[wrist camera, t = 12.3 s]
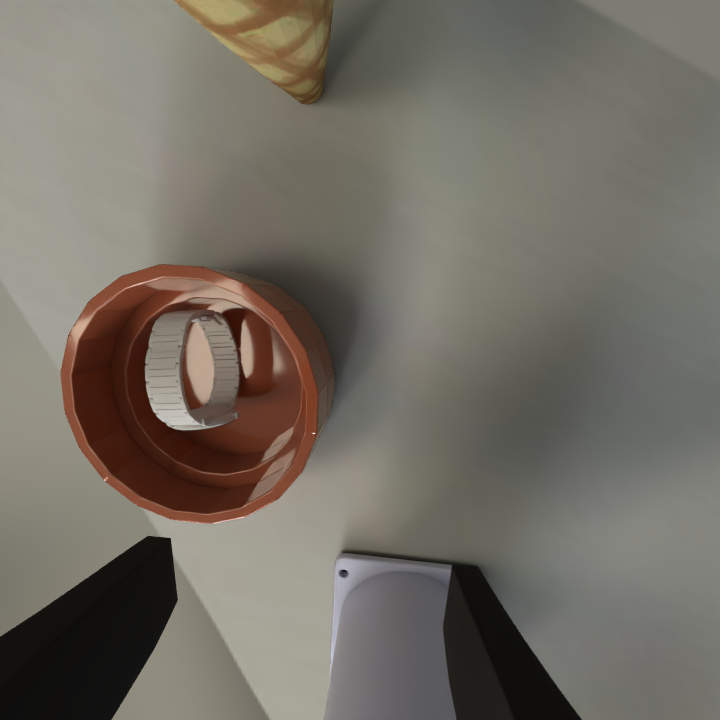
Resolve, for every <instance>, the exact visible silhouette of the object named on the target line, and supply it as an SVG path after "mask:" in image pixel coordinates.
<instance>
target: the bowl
mask: <svg viewBox="0 0 720 720" xmlns="http://www.w3.org/2000/svg"><path fill="white" fill-rule="evenodd" d="M190 310H213V311H215V312H219V313H221V314H222V315H223V316H224V317H225V318H226V319H227V321H228V322H229V326H230V327H231V329H232V332H233V335H234V337H233V338H235V340H236V344H237V350H238V352H239V358H240V362H237V363H240V366H241V375H238V376H240V377H241V379H240V387H239V388H238V389H239V393H238V397H237V400H235V401H236V403H237V408H236V411H237V412H239V414H240V416H239V418H236V419H235V420H234V421H233V422H231V423H229V424H226V425H223V426H219V427H215V428H211V429H204V430H196V431H180V430H176V429H174V428H172V427H169V426H167V424H166V423H165V422H162V421H161V420H160V419H159V418H158V417H157V416H156V413H154V412H153V409H152V407H151V405H150V401H149V399H151V398H149V397H148V394H147V389H146V383H147V382H146V380H145V366H146V365H149V364H145V359H146V355H147V351H148V349H149V339H150V335H151V333H152V332H153V331H152V328H153V326H154V324H155V322H156V320H157V319H159V317H160V316H161V315H163V314H165V313H170V312H176V311H190ZM186 332H187V337H186V343H185V346H183V347H184V348H185V350H184V356H183V362H182V363H180V364H182V369H183V380H180V381H183V385H184V390H185V396H184V397H186V399H187V402H188V405H189V408H190V410H192V409H197V408H200V407H202V406H203V405H204V404H205V403H208V401H210V400H209V398H210V394H211V391H212V389H213V388H212V387H213V380H214V377H217V376H214V364H216V363H213V359H212V354H211V352H212V351H211V350H210V347H209V344H208V339H206V337H205V334H204V332H203V328H201V326H200V325H199V324H198V322H191V324H190V326H189V328H188V331H186ZM219 368H220V367H219ZM218 373H220V372H218ZM173 376H174V375H173ZM334 380H335V372H334V367H333V363H332V360H331V356H330V352H329V349H328V345H327V342H326V340H325V337H324V335H323V334H322V332H321V330H320V329H319V327H318V326H317V324H316V323H315V321H314V320H313V318H312V317H311V315H310V314H309V312H308V310H306V308H305V307H303V306H302V305H301V304H300V303H299V302H297V301H296V300H295V299H294V298H292V297H291V296H290V295H289V294H288V293H286V292H285V291H284V290H283V289H282V288H280V287H278V286H276V285H274V284H271V283H269V282H266V281H264V280H261V279H259V278H256V277H253V276H251V275H248V274H244V273H238V272H232V271H226V270H220V269H214V268H209V267H203V266H185V265H166V264H161V265H156V266H153V267H149V268H146V269H143V270H139V271H136V272H133V273H130V274H126V275H123V276H121V277H119V278H118V279H117V280H115V281H114V282H113V283H111V284H110V285H109V286H108V287H106V288H105V289H104V290H102V291H101V292H100V293H99V294H97V295H96V296H95V297H93V298H92V299H91V300H90V301H89V302H88V303H87V305H86V307H85V308H84V310H83V311H82V313H81V315H80V316H79V318H78V320H77V321H76V323H75V325H74V326H73V328H72V329H71V331H70V333H69V335H68V339H67V344H66V349H65V353H64V358H63V363H62V368H61V383H62V392H63V401H64V411H65V414H66V417H67V419H68V422H69V424H70V426H71V429H72V431H73V434H74V436H75V439H76V441H77V444H78V446H79V448H80V449H81V451H82V452H83V454H84V455H85V456H86V458H87V459H88V460H89V461H90V463H91V464H92V465H93V467H94V468H95V469H96V470H97V472H98V473H99V474H100V476H101V477H102V478H103V479H104V480H105V481H106V483H108V484H109V485H110V486H112V487H113V488H114V489H116V490H117V491H118V492H120V493H121V494H122V495H124V496H125V497H126V498H127V499H129V500H130V501H131V502H133V503H134V504H137V506H139V507H142V508H144V509H147V510H149V511H152V512H154V513H156V514H159V515H161V516H164V517H166V518H169V519H173V520H177V521H186V522H195V523H204V524H213V523H218V522H224V521H229V520H234V519H239V518H244V517H247V516H249V515H251V514H253V513H255V512H256V511H258V510H260V509H262V508H263V507H265V506H267V505H269V504H271V503H272V502H274V501H276V500H278V498H280V497H281V496H282V495H283V493H284V492H285V491H286V490H287V489H288V488H289V487H290V485H291V484H292V483H293V482H294V481H295V480H296V478H297V477H298V476H299V475H300V474H301V473H302V472H303V470H304V468H305V466H306V464H307V462H308V460H309V458H310V456H311V454H312V452H313V450H314V448H315V446H316V444H317V442H318V440H319V438H320V436H321V434H322V432H323V430H324V427H325V425H326V422H327V419H328V417H329V414H330V412H331V409H332V407H333V402H334Z"/></svg>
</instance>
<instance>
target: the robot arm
mask: <svg viewBox="0 0 720 720" xmlns="http://www.w3.org/2000/svg"><path fill="white" fill-rule="evenodd" d="M343 569H344V570H347V572H343V571H341V570H343ZM177 600H178V598H177V591H176V581H175V572H174V563H173V554H172V545H171V538H164V537H153V536H147V537H146V538H144V539H143V540H141V541H140V542H138V543H137V544H135V545H134V546H132V547H131V548H129V549H128V550H126V551H125V552H124V553H122V554H121V555H119V556H118V557H116V558H115V559H114V560H112V561H111V562H109V563H108V564H107V565H105V566H104V567H102V568H101V569H99V570H98V571H97V572H96V573H94V574H92V575H91V576H90V577H88V578H87V579H85V580H84V581H82V582H81V583H79V584H78V585H77V586H75V587H74V588H72V589H71V590H69V591H68V592H66V593H65V594H64V595H62V596H61V597H59V598H58V599H56V600H55V601H53V602H52V603H51V604H49V605H48V606H46V607H45V608H43V609H42V610H41V611H39V612H38V613H36V614H34V615H33V616H31V617H30V618H28V619H27V620H25V621H24V622H22V623H21V624H19V625H17V626H16V627H15V628H13V629H11V630H10V631H8V632H7V633H5V634H4V635H2V636H1V637H0V720H111V719H112V718H113V716H114V715H115V713H116V711H117V710H118V708H119V707H120V705H121V703H122V702H123V700H124V698H125V697H126V695H127V693H128V692H129V690H130V688H131V687H132V685H133V683H134V682H135V680H136V678H137V677H138V675H139V674H140V672H141V670H142V669H143V667H144V665H145V664H146V662H147V660H148V658H149V657H150V655H151V653H152V652H153V650H154V648H155V646H156V644H157V642H158V640H159V638H160V636H161V634H162V632H163V630H164V628H165V626H166V624H167V622H168V620H169V618H170V616H171V613H172V611H173V609H174V607H175V605H176V603H177ZM324 720H582V719H581V718H580V717H579V715H578V714H577V713H576V711H575V710H574V709H573V707H572V706H571V705H570V703H569V702H568V701H567V699H566V698H565V697H564V695H563V694H562V692H561V691H560V690H559V688H558V687H557V685H556V684H555V683H554V681H553V680H552V678H551V677H550V676H549V674H548V673H547V671H546V670H545V668H544V667H543V666H542V664H541V663H540V661H539V660H538V658H537V657H536V655H535V654H534V653H533V651H532V650H531V648H530V647H529V645H528V644H527V642H526V641H525V640H524V638H523V637H522V635H521V634H520V632H519V631H518V629H517V628H516V626H515V625H514V623H513V621H512V620H511V618H510V617H509V615H508V614H507V612H506V611H505V609H504V608H503V606H502V604H501V603H500V601H499V600H498V598H497V596H496V595H495V593H494V592H493V590H492V588H491V587H490V585H489V584H488V582H487V580H486V579H485V577H484V575H483V574H482V572H481V571H480V569H479V568H478V567H476V566H466V565H455V564H452V565H446V564H437V563H429V562H420V561H411V560H402V559H393V558H385V557H376V556H367V555H358V554H350V553H342V554H339V555H338V556H337V559H336V563H335V582H334V602H333V622H332V641H331V661H330V681H329V689H328V695H327V702H326V708H325V715H324Z"/></svg>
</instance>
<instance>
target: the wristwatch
mask: <svg viewBox="0 0 720 720" xmlns="http://www.w3.org/2000/svg"><path fill="white" fill-rule="evenodd" d="M191 322H198V324H199V325H200V326H201V328H203V332H204V334H205V337H206V339H208V344H209V347H210V350H211V351H212V352H211V354H212V359H213V363H216V364H214V376H217V377H214V380H213V387H212V388H213V389H212V391H211V394H210V398H209V400H210V401H208V403H205V404H204V405H203V406H202V407H200V408H197V409H192V410H190V408H189V405H188V402H187V399H186V397H184V396H185V390H184V385H183V381H180V380H183V369H182V364H180V363H182V362H183V356H184V350H185V348H184V347H183V346H185V343H186V337H187V332H186V331H188V328H189V326H190V324H191ZM152 331H153V332H152V333H151V335H150V339H149V349H148V351H147V355H146V359H145V364H149V365H146V366H145V380H146V382H147V383H146V389H147V394H148V397H149V398H151V399H149V401H150V405H151V407H152V409H153V412H154V413H156V416H157V417H158V418H159V419H160V420H161V421H162V422H165V423H166V424H167V426H169V427H172V428H174V429H176V430H180V431H196V430H204V429H211V428H215V427H219V426H223V425H226V424H229V423H231V422H233V421H234V420H235V419H236V418H239V416H240V414H239V412H237V411H236V408H237V403H236V401H235V400H237V397H238V393H239V389H238V388H239V387H240V379H241V377H240V376H238V375H241V366H240V363H237V362H240V358H239V352H238V350H237V344H236V340H235V338H233V337H234V335H233V332H232V329H231V327H230V326H229V322H228V321H227V319H226V318H225V317H224V316H223V315H222V314H221V313H219V312H215V311H213V310H190V311H176V312H170V313H165V314H163V315H161V316H160V317H159V319H157V320H156V322H155V324H154V326H153V328H152ZM219 367H220V368H219ZM218 372H220V373H218ZM173 375H174V376H173Z"/></svg>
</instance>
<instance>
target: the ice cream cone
mask: <svg viewBox="0 0 720 720" xmlns="http://www.w3.org/2000/svg"><path fill="white" fill-rule="evenodd" d="M174 1H175V2H176V3H177V4H178V5H179V6H180V7H181V8H183V9H184V10H185V11H186V12H187V13H188V14H190V15H191V16H192V17H193V18H194V19H195V20H196V21H198V22H199V23H200V24H201V25H202V26H203V27H205V28H206V29H207V30H208V31H209V32H210V33H211V34H213V35H214V36H215V37H216V38H217V39H218V40H219V41H221V42H222V43H223V44H224V45H225V46H227V47H228V48H229V49H230V50H232V51H233V52H234V53H235V54H237V55H238V56H239V57H240V58H242V59H243V60H244V61H245V62H247V63H248V64H249V65H250V66H252V67H253V68H254V69H255V70H257V71H258V72H259V73H261V74H262V75H264V76H265V77H266V78H268V79H269V80H270V81H272V82H273V83H274V84H276V85H277V86H278V87H280V88H281V89H283V90H284V91H285V92H287V93H288V94H289V95H291V96H292V97H293V98H295V99H296V100H298V101H299V102H301V103H302V104H312V103H315V102H316V101H317V100H318V99H320V97H321V95H322V91H323V84H324V77H325V70H326V62H327V55H328V48H329V40H330V32H331V23H332V13H333V3H334V0H174Z"/></svg>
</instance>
